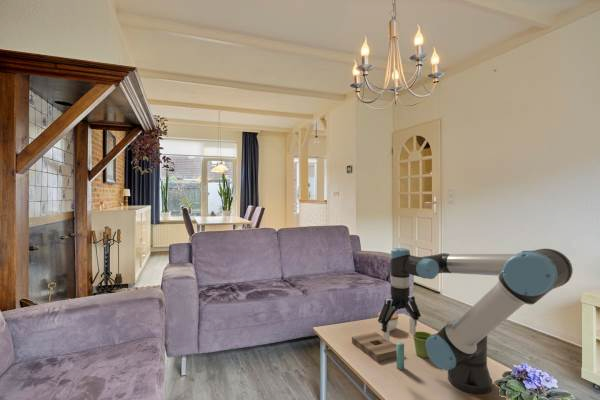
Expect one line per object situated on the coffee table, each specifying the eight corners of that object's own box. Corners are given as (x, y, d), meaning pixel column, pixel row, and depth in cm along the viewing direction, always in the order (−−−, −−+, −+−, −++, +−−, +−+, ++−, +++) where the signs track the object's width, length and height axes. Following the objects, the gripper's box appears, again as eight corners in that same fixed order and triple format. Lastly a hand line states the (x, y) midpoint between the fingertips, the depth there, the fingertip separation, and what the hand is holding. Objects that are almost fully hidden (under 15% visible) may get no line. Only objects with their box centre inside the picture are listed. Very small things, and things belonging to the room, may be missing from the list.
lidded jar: (399, 333, 170) (399, 315, 170) (378, 332, 171) (378, 314, 171) (396, 325, 180) (396, 308, 180) (376, 324, 182) (376, 307, 182)
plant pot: (436, 360, 141) (436, 340, 141) (413, 358, 143) (413, 339, 143) (432, 350, 150) (432, 332, 150) (410, 349, 152) (410, 330, 152)
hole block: (402, 355, 146) (402, 348, 146) (376, 361, 140) (376, 354, 140) (375, 338, 164) (375, 332, 164) (351, 342, 159) (351, 336, 159)
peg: (405, 368, 135) (405, 344, 135) (399, 370, 133) (399, 346, 133) (400, 365, 137) (400, 341, 137) (395, 366, 136) (395, 343, 136)
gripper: (416, 280, 144) (416, 328, 144) (369, 286, 134) (369, 338, 134) (429, 285, 137) (429, 335, 137) (380, 291, 127) (380, 345, 127)
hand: (399, 336), depth 136 cm, fingers open, 13 cm apart
